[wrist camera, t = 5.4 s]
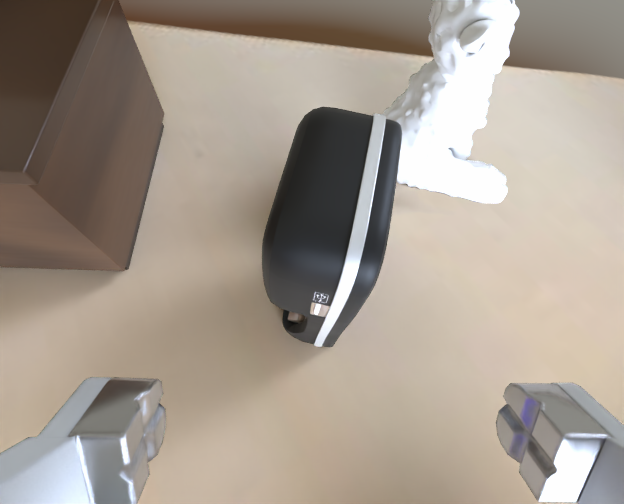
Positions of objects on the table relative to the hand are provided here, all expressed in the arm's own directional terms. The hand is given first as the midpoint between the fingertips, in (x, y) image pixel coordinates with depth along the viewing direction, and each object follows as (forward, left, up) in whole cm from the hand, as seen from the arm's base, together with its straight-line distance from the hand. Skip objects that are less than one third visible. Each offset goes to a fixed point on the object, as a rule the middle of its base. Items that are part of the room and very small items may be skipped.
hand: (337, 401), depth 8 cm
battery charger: (0, -7, -11) cm, 13 cm away
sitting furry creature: (-8, -17, -11) cm, 21 cm away
